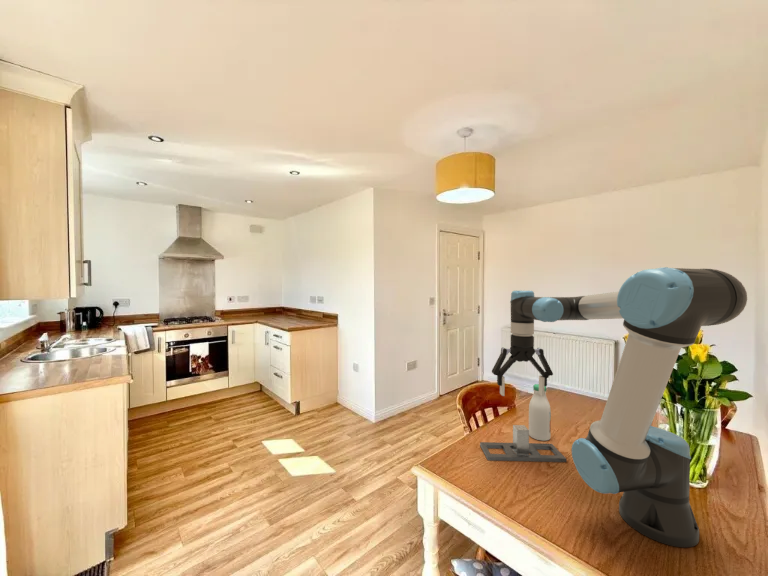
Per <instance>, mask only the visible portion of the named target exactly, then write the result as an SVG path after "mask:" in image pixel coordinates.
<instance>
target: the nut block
mask: <svg viewBox="0 0 768 576" xmlns="http://www.w3.org/2000/svg"><path fill="white" fill-rule="evenodd" d="M512 443H513V449H512V450H513V451H514V453H515V454H523V455H530V453H529V443H530V435H529V428H528V427H527V426H526V425H525V424H512Z"/></svg>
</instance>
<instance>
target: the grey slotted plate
mask: <svg viewBox="0 0 768 576" xmlns="http://www.w3.org/2000/svg"><path fill="white" fill-rule="evenodd" d="M479 446H480V448H481V450H482V452H483V455H484V456H485V457H486V459H487V461H496V462H497V461H499V462H500V461H502V462H505V461H506V462H538V463H539V462H541V463H542V462H543V463H545V462H546V463H547V462H549V463H567V458H566V456H565V455H563V454H562V452H561V451H560V450H559V449H558V448H557V447H556V446H555V445H554V443H539V442H538V443H536V442H534V443H533V442H532V443H530V442H529V455H523V454H515V452H514V451H513V442H495V441H494V442H493V441H492V442H491V441H489V442H487V441H481V442H479ZM489 449H498V450H499V449H500V450H501V449H502V451H503V452H504V453H491V452H490V451H489ZM538 450H542V451H543V450H545V451H546V450H548V451H551V452H552V453H553V454H541V453H540V452H539V451H538Z"/></svg>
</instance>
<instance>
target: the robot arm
mask: <svg viewBox="0 0 768 576" xmlns="http://www.w3.org/2000/svg"><path fill="white" fill-rule="evenodd" d="M747 302H748V292H747V290H746V288H745V286H744V285H743V283H742V282H741V281H740V280H739V279H738V278H737V277H735V276H734V275H732V274H730V273H729V272H726V271H722V270H720V269H715V268H714V269H713V268H685V267H684V268H683V267H681V268H678V267H677V268H676V267H675V268H674V267H667V266H666V267H657V268H648V269H642V270H640V271H637V272H636V273H633V274H632V275H630V276H629V277H628V278H627V279H626V280H625V281H624V282H623V283H622V284H621V287H620V289H619V290H618V291H613V292H605V293H604V292H603V293H597V294H588V295H580V296H565V297H564V296H550V297H549V296H544V297H543V296H535V291H534V290H513V291H511V294H510V302H509V303H510V333H511V334H510V348H505V347H501V349H500V354H499V356H498V358H497V360H496V362H495V364H494V366H493V368H492V370H491V374H492V375H494V376H496V379H497V380H496V381H497V382H496V383H497V385H498V386H499V395H501V396H502V397H505V392H506V391H505V390H506V389H505V386H506V385H505V383H506V382H505V381H506V379H505V376H504V374H506V373H507V371H508V370H509V369H510V368H511V367H512V366H513V364H515V363H516V362H519V363H520V362H526V363H528V362H530V363H531V364H532V365H533V367H534V368H535V369H536V371H537V372H538V373H539V374H540V375H538V384H539V394H540V395H541V396H542V397H544V386H546V387H547V385H548V378H549V377H550V376H553V375H554V373H553V371H552V369H551V366H550V364H549V362H548V361H547V358H546V357H545V351H544V349H543V348H542V347H541V348H540V347H537V348H534V347H535V336H534V334H535V321H540V322H543V323H554V322H557V321H589V320H615V319H619V320H620V319H622V320H623V322H622V326H623V327H624V328H625V330H626V331H627V333H628V336H627V339H626V341H625V344H624V348H623V350H622V353H621V357H620V360H619V362H618V366H617V370H616V371H615V375H614V378H613V381H612V384H611V388H610V390H609V393H608V396H607V400H606V403H605V406H604V409H603V412H602V415H601V418H600V419H599V420H595V421H593V422H592V423H591V424H590V427H589V430H588V431H587V432H588V433H587V435H586V437H585V438H584V437H579V438H578V439H576V440H574V442H573V443H572V446H571V458H572V460H573V464H574V465H575V469H576V470H577V472H578V474H579V476H580V478H581V479H582V480H583V481H584V483H586V485H587V486H588V487H589V488H591V489H592V490H594V491H595V492H597V493H600V494H613V495H616V494H618V493H623V494H622V496H621V497H620V498H619V503H618V512H619V514H620V516H621V518H622V520H624V521H625V523H626V524H627V525H629V526H630V528H633V530H635V531H637V532H638V533H640V534H642V535H643V536H645V537H647V538H649V539H651V540H654V541H656V542H658V543H661V544H664V545H668V546H672V547H677V548H693V547H695V546H697V545H698V544H699V542H700V529H699V528H700V527H699V525H698V523H697V520H696V517H695V515H694V512H693V510H692V506H691V503H690V486H691V485H690V481H691V480H690V479H691V459H692V456H691V454H690V453H691V451H690V444H689V442H687V441H686V440H685V439H684V438H683V437H681V436H680V435H677V434H676V433H673V432H671V431H669V430H666V429H664V428H660V427H656V426H654V425H653V424H652V423H653V420H654V418H655V416H656V414H657V411H658V409H659V406H660V404H661V400H662V397H663V396H664V392H665V391H666V387H667V385H668V382H669V380H670V377H671V376H672V373H673V370H674V367H675V364H676V362H677V359H678V357H679V354H680V351H681V350H682V349H683V348H687V347H689V346H693V345H694V344H695V343H696V340H697V337H698V335H699V332H700V330H701V328H702V327H706V326H707V327H710V326H718V325H721V324H722V325H723V324H725V323H728V322H730V321H732V320H734V319H736V318H737V317H738V316H740V315H741V313H742V312H743V311H744V310H745V307H746V306H747ZM509 353H510V356H509V357H508V359H507V360H506V358H507V355H509ZM535 354H536V355H537V356H538V359H539V361H540V363H541V365H542V367H543V368H542V367H541V366H540V364H539V363H538V362H537V361H536V359H535V358H534V355H535ZM505 360H506V361H505ZM504 361H505V363H504Z"/></svg>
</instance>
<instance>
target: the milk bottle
mask: <svg viewBox="0 0 768 576" xmlns="http://www.w3.org/2000/svg"><path fill="white" fill-rule="evenodd" d="M532 386H533V387H532V389H533V390H532V391H533V394H532V397H531V399H530V401H529V405H528V430H529V437H531V438H532V439H535V440H538V441H543V442H545V441H549V440H550V439H551V434H552V433H551V432H552V431H551V429H552V428H551V427H552V425H551V422H552V420H551V417H552V416H551V415H552V413H551V405H550V402H549V400H548V397H547V394H546V393H547V386H544V397H542V396H541V395H540V394H539V383H535V384H533V385H532Z"/></svg>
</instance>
